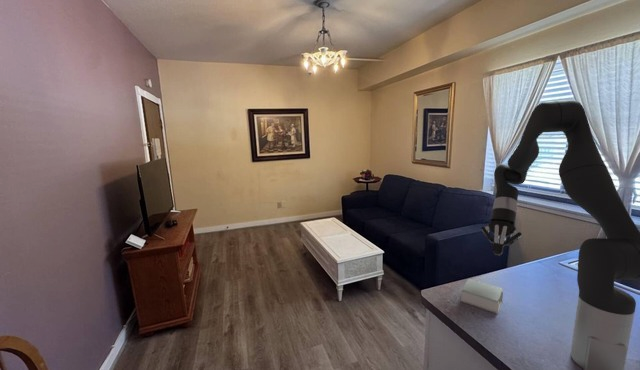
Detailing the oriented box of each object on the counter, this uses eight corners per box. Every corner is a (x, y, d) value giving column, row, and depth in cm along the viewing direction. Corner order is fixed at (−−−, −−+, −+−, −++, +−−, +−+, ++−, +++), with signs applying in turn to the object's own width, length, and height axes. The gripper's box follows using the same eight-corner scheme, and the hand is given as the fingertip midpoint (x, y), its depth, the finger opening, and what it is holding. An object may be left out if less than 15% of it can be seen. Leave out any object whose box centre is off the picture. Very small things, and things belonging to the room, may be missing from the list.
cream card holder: (502, 301, 92) (503, 290, 92) (497, 314, 86) (498, 303, 85) (467, 289, 100) (467, 280, 99) (460, 301, 93) (460, 290, 93)
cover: (502, 290, 92) (502, 288, 92) (497, 303, 85) (497, 300, 85) (468, 280, 99) (468, 278, 99) (461, 291, 92) (462, 289, 92)
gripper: (482, 205, 102) (474, 247, 96) (525, 209, 93) (519, 256, 88) (485, 213, 107) (477, 253, 101) (526, 218, 98) (520, 262, 93)
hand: (497, 254), depth 94 cm, fingers closed
